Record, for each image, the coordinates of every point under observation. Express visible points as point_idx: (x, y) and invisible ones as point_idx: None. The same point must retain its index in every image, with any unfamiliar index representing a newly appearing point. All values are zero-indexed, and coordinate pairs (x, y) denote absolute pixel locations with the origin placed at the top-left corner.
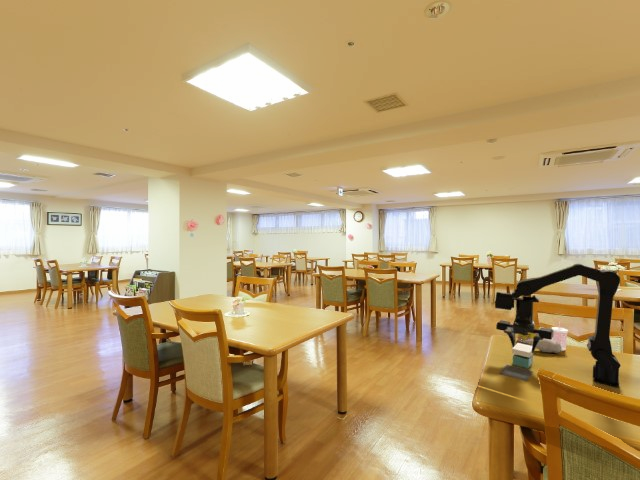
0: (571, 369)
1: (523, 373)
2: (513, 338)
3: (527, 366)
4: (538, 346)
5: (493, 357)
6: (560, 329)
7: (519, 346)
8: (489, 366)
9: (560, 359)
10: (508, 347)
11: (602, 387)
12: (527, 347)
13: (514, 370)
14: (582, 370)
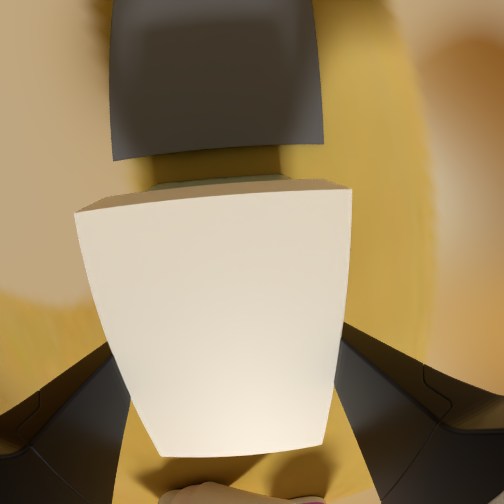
0: (41, 382)
1: (159, 48)
2: (409, 414)
3: (159, 186)
4: (227, 496)
5: (421, 251)
6: None
7: (281, 372)
8: (399, 49)
9: (130, 457)
10: (353, 442)
11: None
12: (190, 401)
13: (232, 52)
14: (24, 394)
